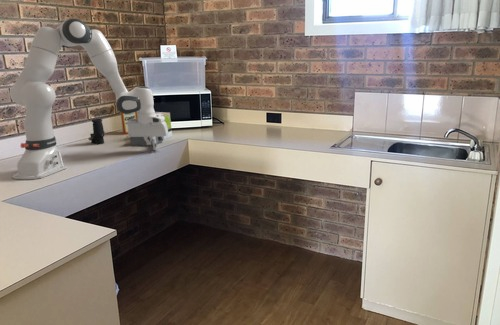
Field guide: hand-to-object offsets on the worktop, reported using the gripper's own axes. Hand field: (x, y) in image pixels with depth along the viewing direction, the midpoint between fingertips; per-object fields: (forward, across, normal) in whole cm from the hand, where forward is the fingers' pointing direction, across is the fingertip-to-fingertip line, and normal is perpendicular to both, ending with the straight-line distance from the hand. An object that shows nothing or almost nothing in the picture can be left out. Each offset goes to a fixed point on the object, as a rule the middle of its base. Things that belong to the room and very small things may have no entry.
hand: (149, 144), depth 210 cm
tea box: (+3, -6, +29) cm, 30 cm away
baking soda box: (+3, -29, +46) cm, 54 cm away
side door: (+2, +1, +4) cm, 5 cm away
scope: (+3, -36, +18) cm, 41 cm away
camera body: (+3, -7, +16) cm, 18 cm away
